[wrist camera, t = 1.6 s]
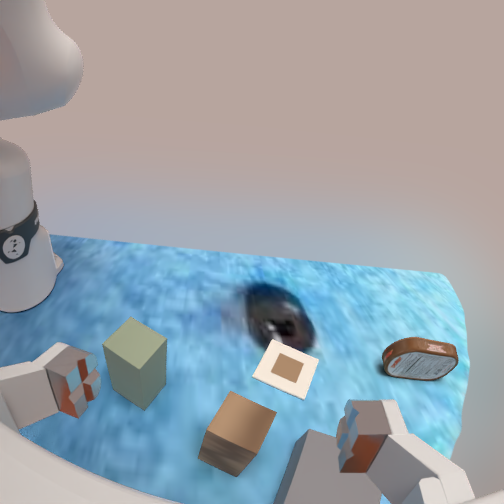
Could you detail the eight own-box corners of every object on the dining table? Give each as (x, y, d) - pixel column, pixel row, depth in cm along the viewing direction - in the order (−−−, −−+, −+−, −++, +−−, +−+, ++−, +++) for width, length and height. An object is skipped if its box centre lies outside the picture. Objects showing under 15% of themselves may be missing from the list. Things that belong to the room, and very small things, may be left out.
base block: (267, 516, 25) (280, 511, 23) (294, 443, 34) (309, 428, 31) (351, 535, 23) (373, 530, 21) (368, 464, 32) (388, 451, 30)
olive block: (113, 389, 34) (102, 344, 29) (135, 365, 38) (130, 316, 33) (144, 410, 33) (139, 369, 28) (165, 384, 37) (166, 338, 32)
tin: (437, 371, 48) (464, 342, 43) (441, 385, 45) (469, 356, 41) (372, 362, 48) (397, 330, 43) (374, 377, 45) (401, 345, 40)
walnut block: (197, 458, 30) (206, 429, 24) (216, 427, 34) (230, 390, 28) (236, 477, 29) (257, 453, 23) (253, 444, 33) (276, 412, 27)
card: (251, 377, 41) (252, 375, 41) (271, 340, 48) (272, 338, 48) (303, 400, 40) (304, 399, 39) (318, 360, 46) (319, 359, 46)
